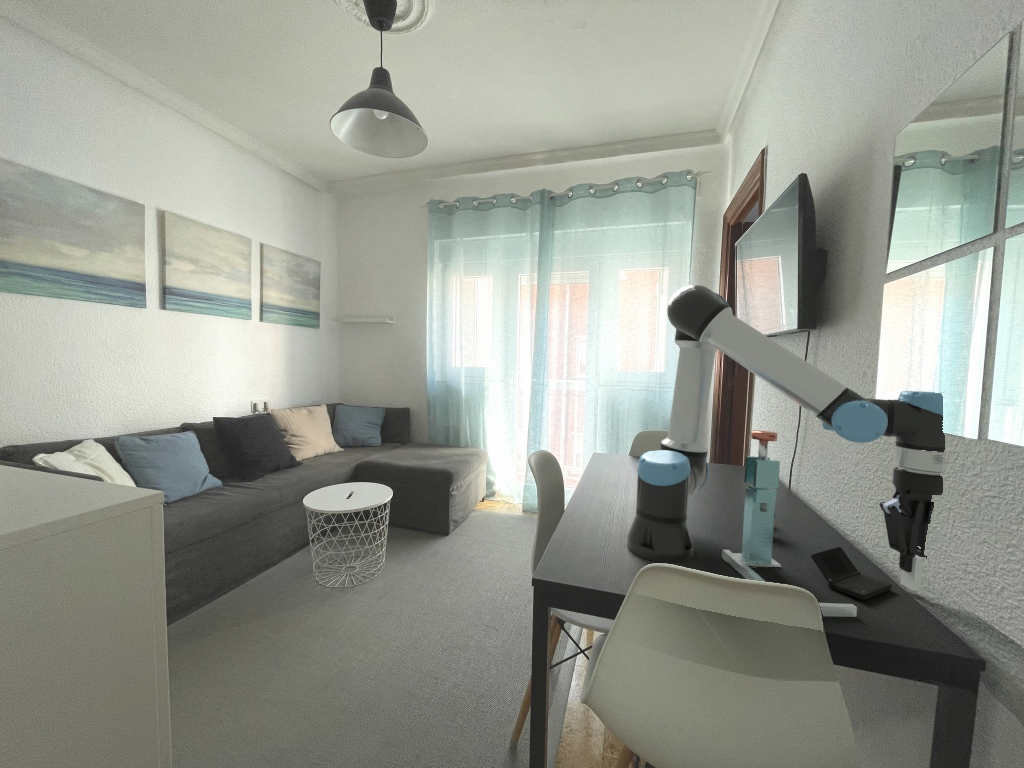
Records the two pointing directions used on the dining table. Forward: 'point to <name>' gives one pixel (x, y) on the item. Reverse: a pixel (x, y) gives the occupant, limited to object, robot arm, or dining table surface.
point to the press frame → (765, 528)
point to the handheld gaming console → (847, 575)
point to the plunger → (763, 441)
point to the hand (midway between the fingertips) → (910, 586)
